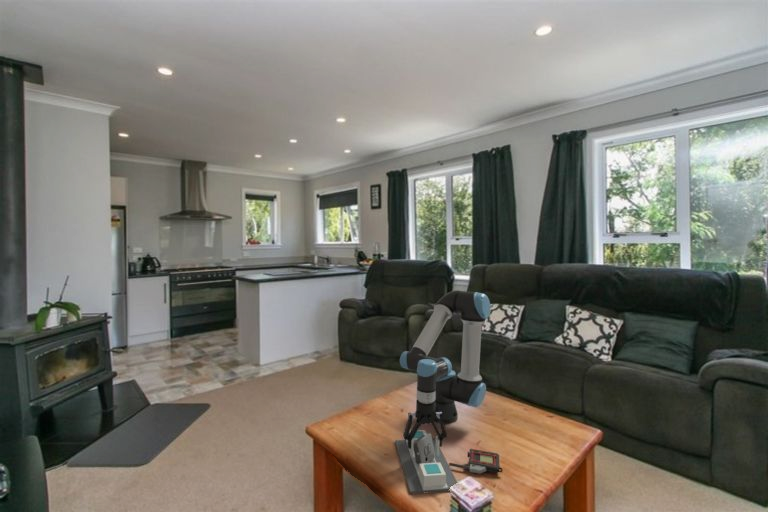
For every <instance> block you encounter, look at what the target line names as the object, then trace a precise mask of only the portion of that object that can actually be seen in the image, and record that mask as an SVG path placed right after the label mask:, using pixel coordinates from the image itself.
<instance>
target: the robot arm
mask: <svg viewBox="0 0 768 512" xmlns="http://www.w3.org/2000/svg"><path fill="white" fill-rule="evenodd" d="M490 313H491V301H490V299H489V297H488V295H486V294H485V293H482V292H478V291H476V292H475V291H466V290H465V291H464V290H459V289H457V290H452V291H449V292H447V293H446V294H444V295H443V296H442V297H441V298H439V299H438V301H436V303H435V305H434V306H433V313H432V314H431V316H430V317H429V319H428V321H427V322H426V324H425V325H424V327H423V329H422V331H421V332H420V334H419V336H418V337H417V339H416V340H415V343H414V344H413V346H412V348H410V350H409V351H407V350H405V351H403V352H402V353H401V355H400V358H399V364H400V367H401V368H403V369H406V370H408V371H412V372H415V373H416V401H415V402H416V405H415V408H416V409H415V412H414V413H411V412H408V414H407V416H408V417H407V420H406V425H405V428H404V431H403V435H402V436H403V438H404V439H403V440H408V448H409V449H410V456H411V458H413V447H414V441H413V437H414V436H415V434H416V432H417V430H419V429H420V427H421V426H422V425H425V424H426V425H430V424H431V426H432V428H433V430H434V431H435V434H436V435H437V436H435V439H436V449H435V453H436V455H437V456H439V447H440V448H441V447H442V446H443V444H442V443H443V440H444V438H445V439H446V438H447V435H448V434H447V432H446V427H445V424H446V425H448V424H452V422H453V423H456V421H457V420H458V416H459V415H458V414H459V413H458V410H457V406H456V403H455V402H457V403H459V404H464V405H466V406H467V407H474V408H478V407H480V406H481V404H482V403H483V401H484V399H485V397H486V393H487V385H486V383H484V382H483V377H482V376H481V374H480V362H481V359H480V358H481V344H482V343H481V342H482V341H481V340H482V325H483V324H484V323H485V322H486V319H488V318H489V317H490V315H491V314H490ZM453 315H460V321H461V323H462V325H463V326H462V341H461V342H462V344H461V345H462V347H461V364H460V371H459V372H458V373H457V374H456V371H455V370H453V366H452V362H451V361H450V360H449V359H448V358H447V357H444V356H443V357H438V358H434V357H432V356H428V355H429V353H430V352H431V350H432V348H433V346H434V344H435V343H436V341H437V339H438V337H439V336H440V334H441V332H442V331H443V328H444V327H445V325H446V323H447V321H448V320H449V319H451V318H452V317H453ZM415 418H416V420H415V422H414V424H413V421H414V419H415ZM436 423H438V424H439V427H440V430H441V432H440V431H439V429H438V427H437V425H436ZM412 425H413V426H412ZM409 432H410V433H409Z"/></svg>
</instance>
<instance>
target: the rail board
mask: <svg viewBox="0 0 768 512" xmlns="http://www.w3.org/2000/svg"><path fill="white" fill-rule="evenodd" d="M409 433H410V432H409ZM427 434H428V433H427V432H426V430H425V429H422V430H421V429H420V430H419V429H418V430H417V432H416V434H415V436H414V437H413V441H416V440H417V439H418V438H419V437H421V436H422V435H427ZM432 441H433V446H434V452H435V449H436V437H435V438H434V437H433V438H432ZM394 444H395V447H396V451H397V453H398V457H399V459H400V460H399V461H400V463H401V466H402V470H403V474H404V478H405V480H406V484H407V486H408V490H410V491H409V493H420V494H427V493H426V492H433V493H441V492H440V491H446V492H449V491H448V490H449V489H450V487H451V486H453V485H454V484H456V483H458V481H457V479H456V477H455V475H454V472H453V471H452V469H451V466H450V465H449V463H448V461H447V459H446V457H445V454H444V453H443V452H442V449H441V447H439V456H437V455H436V453H435V457H434V458H433V459H432V460H431V461H430V462H429V463H422V464H418V463H416V458H415V453H414V448H413V458H411V456H410V449H409V448H408V440H405V439H397V440H394ZM417 454H418V453H417ZM424 492H425V493H424Z"/></svg>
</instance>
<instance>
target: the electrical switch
mask: <svg viewBox="0 0 768 512" xmlns="http://www.w3.org/2000/svg"><path fill="white" fill-rule="evenodd" d="M432 437H433V436H432V433H429V432H428V433H427V435H422V436H421V437H419V438H418V439H417V440H416V441H414V447H413V448H414V453H415V458H416V463H418V464H422V463H429V462H430V461H431V460H432V459H433V458H434V457H435V452H434V446H433V441H432ZM417 453H418V454H417Z"/></svg>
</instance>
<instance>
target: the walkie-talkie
mask: <svg viewBox="0 0 768 512" xmlns="http://www.w3.org/2000/svg"><path fill="white" fill-rule="evenodd" d="M467 458H469V459H468V460H467V464H468V465H463V464H459V463H453V462H449V463H448V465H449V467H455V468H461V469H465V470H469V473H474V474H478V475H479V474H481V475H482V473H485V472H490V473H491V472H493V473H496V474H497V473H503V468H502V467H500V454H499V453H498V452H497V453H496V452H493V451H487V450H480V449H474V448H470V449H469V451H467Z"/></svg>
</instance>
